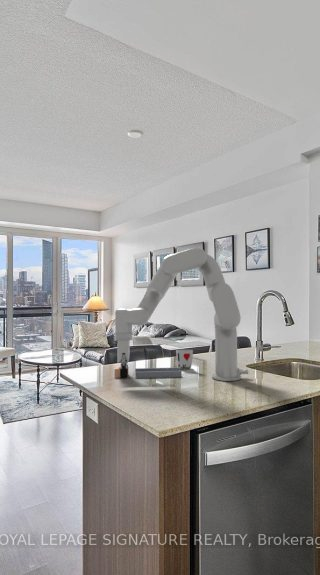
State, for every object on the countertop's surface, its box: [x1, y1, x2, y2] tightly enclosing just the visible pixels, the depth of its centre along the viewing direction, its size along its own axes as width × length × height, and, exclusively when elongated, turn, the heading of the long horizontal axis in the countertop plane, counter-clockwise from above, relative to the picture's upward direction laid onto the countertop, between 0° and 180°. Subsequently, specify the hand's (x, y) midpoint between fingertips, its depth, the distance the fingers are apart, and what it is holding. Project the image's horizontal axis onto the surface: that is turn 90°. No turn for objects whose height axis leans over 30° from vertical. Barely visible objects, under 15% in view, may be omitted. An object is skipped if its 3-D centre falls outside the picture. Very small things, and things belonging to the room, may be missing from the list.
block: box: [114, 366, 129, 379], centre depth 166 cm, size 5×5×6 cm
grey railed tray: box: [134, 366, 182, 379], centre depth 168 cm, size 20×9×4 cm, turn 94°
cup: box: [175, 349, 194, 371], centre depth 183 cm, size 8×8×10 cm
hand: (124, 375), depth 166 cm, fingers open, 8 cm apart
